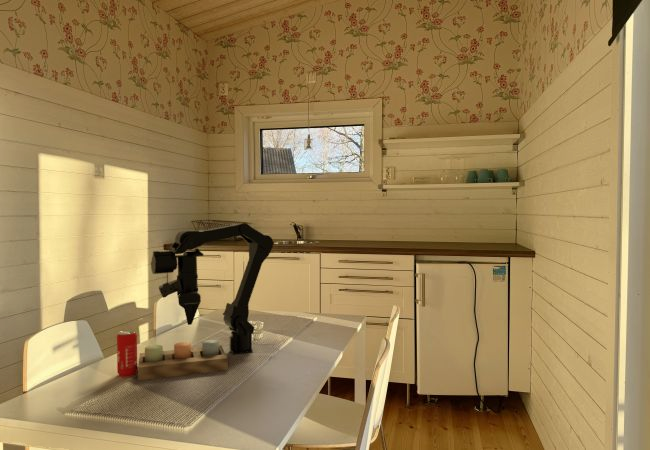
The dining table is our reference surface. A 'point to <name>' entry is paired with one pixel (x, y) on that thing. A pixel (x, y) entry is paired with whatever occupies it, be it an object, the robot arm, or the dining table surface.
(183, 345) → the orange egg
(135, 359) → the beverage can
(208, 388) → the dining table surface
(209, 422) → the dining table surface
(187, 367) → the wooden compartment tray
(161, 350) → the button sage
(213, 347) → the sage green rounded cylinder
